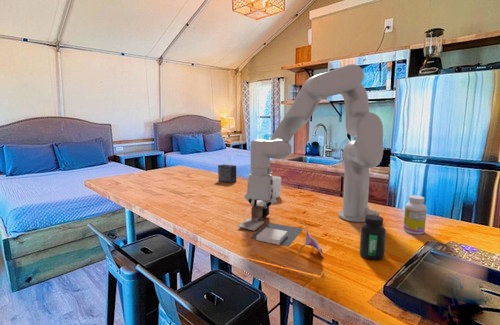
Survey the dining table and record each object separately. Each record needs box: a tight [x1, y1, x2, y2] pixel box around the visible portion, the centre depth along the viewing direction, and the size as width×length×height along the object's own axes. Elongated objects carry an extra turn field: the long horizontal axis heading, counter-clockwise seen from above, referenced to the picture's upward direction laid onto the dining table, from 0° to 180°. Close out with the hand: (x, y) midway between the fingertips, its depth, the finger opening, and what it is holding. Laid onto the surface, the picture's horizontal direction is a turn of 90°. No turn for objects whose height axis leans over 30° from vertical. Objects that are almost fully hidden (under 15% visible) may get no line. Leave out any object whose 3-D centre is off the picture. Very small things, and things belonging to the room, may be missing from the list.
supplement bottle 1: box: [359, 215, 387, 262], centre depth 84 cm, size 7×7×12 cm
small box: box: [217, 163, 237, 184], centre depth 182 cm, size 11×6×10 cm, turn 58°
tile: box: [255, 227, 287, 246], centre depth 96 cm, size 8×2×8 cm
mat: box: [249, 221, 304, 247], centre depth 100 cm, size 14×16×1 cm
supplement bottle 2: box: [403, 194, 428, 235], centre depth 101 cm, size 7×7×13 cm
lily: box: [297, 219, 324, 258], centre depth 85 cm, size 12×12×10 cm
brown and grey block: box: [237, 200, 270, 232], centre depth 110 cm, size 7×17×5 cm, turn 153°
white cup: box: [272, 175, 282, 199], centre depth 147 cm, size 8×8×10 cm
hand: (260, 215), depth 113 cm, fingers closed on brown and grey block, 3 cm apart
